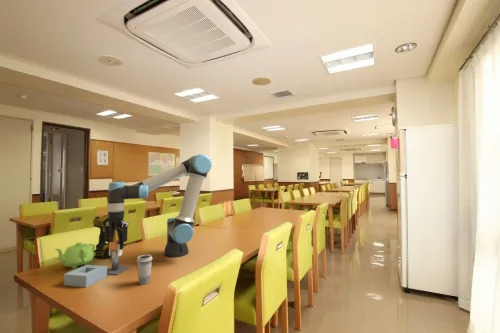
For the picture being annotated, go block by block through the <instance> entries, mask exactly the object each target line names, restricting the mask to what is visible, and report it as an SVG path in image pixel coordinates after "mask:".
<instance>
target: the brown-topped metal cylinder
mask: <svg viewBox="0 0 500 333" xmlns="http://www.w3.org/2000/svg"><path fill="white" fill-rule="evenodd" d="M118 243H119V240H118V239H113V241H111V242H109V250H112V257H111V267H112V269H118V268H119V266H120V256H117V249H118Z"/></svg>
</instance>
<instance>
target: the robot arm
mask: <svg viewBox="0 0 500 333" xmlns="http://www.w3.org/2000/svg"><path fill="white" fill-rule="evenodd" d="M212 166H213V164H212V160H211V158H210V157H209V156H208V155H206V154H203V153H202V154H200V153H199V154H196V155H193V156H191V157H189V158H187V159H185V160H184V161H183V162H180V163H179V165H177V166H174V167H172V168H170V169H168V170H165V171H163V172H161V173H158V174H156V175H152V176H151V177H149V178H147V179H144V180H142V181H140V182H137V183H134V184H132V185H131V184H130V185H125V181H111V182H109V183H108V191H107V194H108V195H107V197H108V199H107V200H108V203H107V211H108V212H107V216H108V219H109V221H108V222H106V223H104V227H105V231H104V240H105V242H106V243H108V249H109V242H111V241H114V237H115V232H116V235H117V240H119V243H118V249H117V256H122V255H123V249H124V243H126V242H127V241H128V229H129V228H128V227H129V222H125V221H124V218H125V211H124V210H125V200H139V199H141V200H142V199H147V198H148V197H149V192H151V191H153V190H156V189H157V188H160V187H162V186H165V185H167V184H169V183H171V182H174V181H176V180H178V179H180V178H182V177H184V176H185V177H188V176H189V177H188V181H187V184H186V187H185V190H184V195H183V198H182V202H181V205H180V208H179V213H178V215H177V216H175V217H170V218H168V219H167V221H166V225H167V226H166V245H165V247H164V250H163V255H164V256H165V257H168V258H179V257H183V256H186V255H188V254H189V250H190V249H189V247H188V243H189V242H190V241H191V240H192V239H193V237H194V224H195V219H194V214H195V211H196V207H197V204H198V201H199V196H200V192H201V190H202V189H201V188H202V185H203V181H204V180H205V179H207V176H208V173H209V172H210V171H211V169H212ZM111 255H112V250H109V256H111Z"/></svg>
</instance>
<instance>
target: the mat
mask: <svg viewBox="0 0 500 333" xmlns="http://www.w3.org/2000/svg"><path fill="white" fill-rule="evenodd" d="M130 268H131V266H125V265H123V266H122V265H119V268H118V269H112V266H111V267H109V268H108V267H107V275H109V276H118V275H119V274H122V273H123V272H126V271H127V270H129V269H130Z"/></svg>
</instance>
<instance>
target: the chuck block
mask: <svg viewBox="0 0 500 333" xmlns="http://www.w3.org/2000/svg"><path fill="white" fill-rule="evenodd" d="M107 269H108V266H107V265H96V264H94V265H93V264H89V265H85V266H84V265H81V266H80V267H77V268H76V269H72V270H71V271H68V272H66V273H64V274H63V285H64V286H66V287H67V286H68V287H80V288H88V287H90V286H91V285H93V284H95V283H97V282H99V281H101V280H103V279H104V278H106V277H108V276H107Z"/></svg>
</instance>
